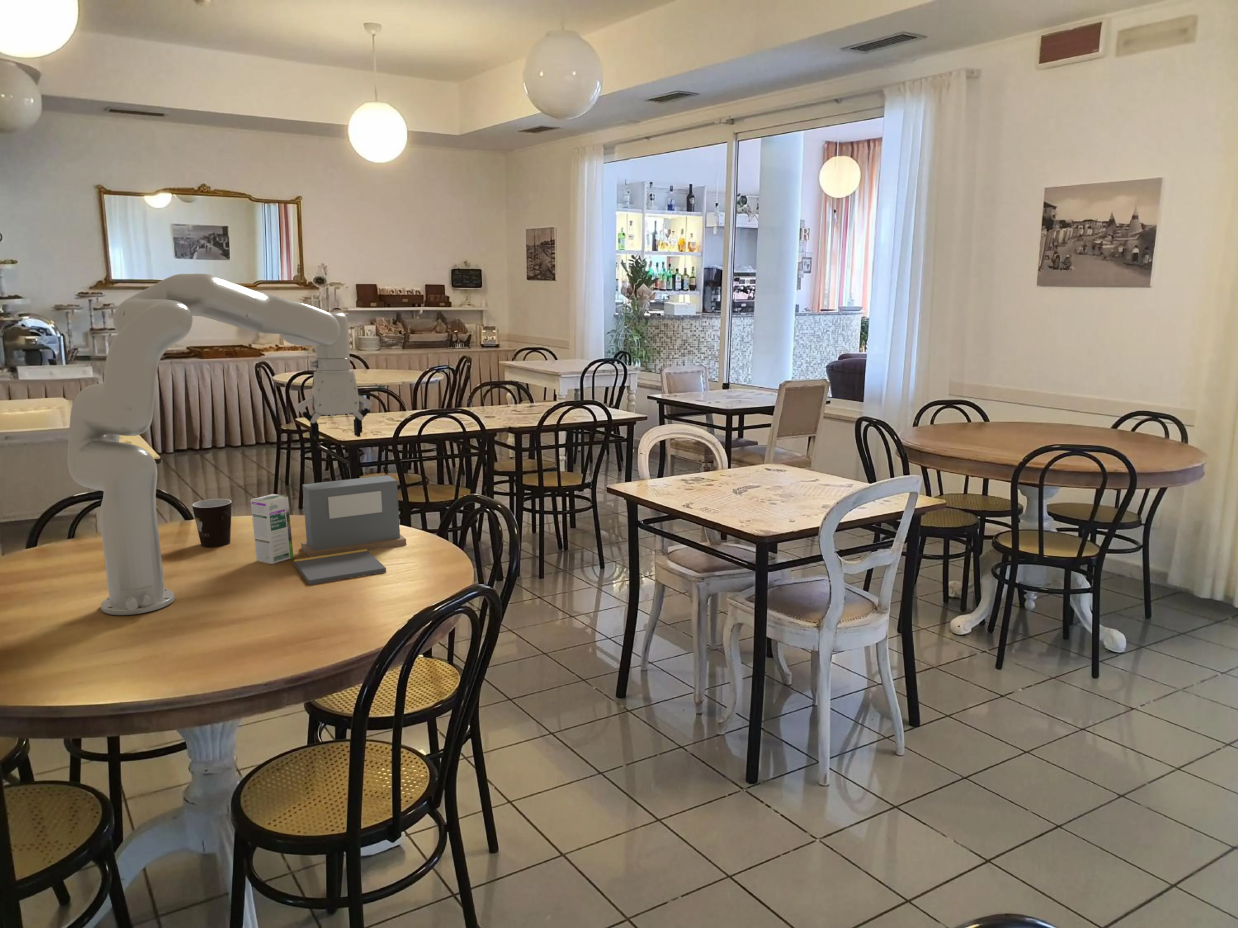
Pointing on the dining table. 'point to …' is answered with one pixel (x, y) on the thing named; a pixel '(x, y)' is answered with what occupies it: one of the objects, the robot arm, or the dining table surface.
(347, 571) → the mat
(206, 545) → the coffee mug
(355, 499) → the box
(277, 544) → the syrup box
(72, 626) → the dining table surface
